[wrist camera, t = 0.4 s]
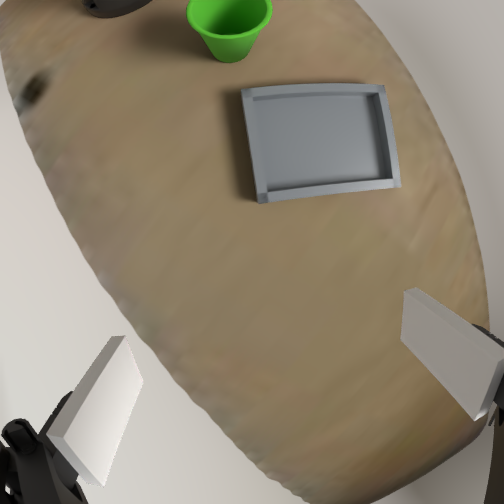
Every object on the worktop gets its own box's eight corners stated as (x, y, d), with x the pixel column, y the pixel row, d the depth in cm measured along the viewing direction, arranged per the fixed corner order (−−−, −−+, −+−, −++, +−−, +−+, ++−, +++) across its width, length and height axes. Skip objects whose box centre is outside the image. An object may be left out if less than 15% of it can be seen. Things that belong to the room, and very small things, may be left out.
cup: (231, 14, 31) (230, -30, 20) (277, 49, 33) (290, 9, 22) (184, 50, 32) (168, 10, 21) (229, 88, 34) (227, 53, 23)
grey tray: (240, 96, 34) (241, 89, 31) (374, 90, 34) (384, 85, 31) (257, 202, 37) (258, 203, 34) (390, 186, 38) (401, 187, 35)
